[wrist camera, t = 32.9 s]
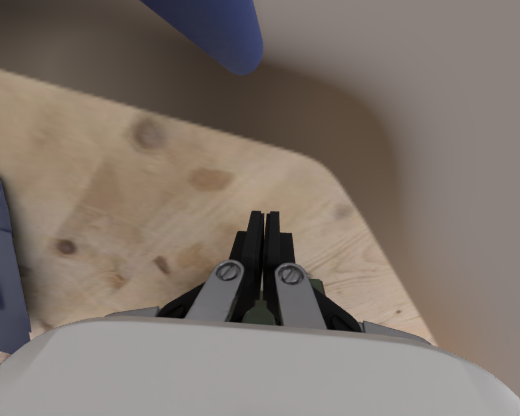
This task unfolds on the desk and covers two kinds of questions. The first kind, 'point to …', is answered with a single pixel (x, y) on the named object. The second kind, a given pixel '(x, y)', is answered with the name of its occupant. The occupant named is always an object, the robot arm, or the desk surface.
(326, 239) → the desk surface
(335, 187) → the desk surface
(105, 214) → the desk surface
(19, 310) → the dark blue flat piece
